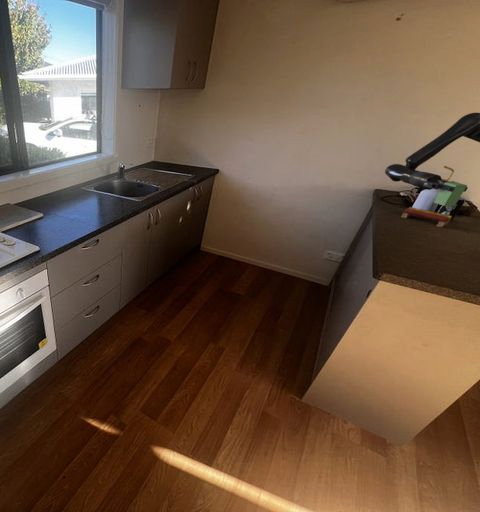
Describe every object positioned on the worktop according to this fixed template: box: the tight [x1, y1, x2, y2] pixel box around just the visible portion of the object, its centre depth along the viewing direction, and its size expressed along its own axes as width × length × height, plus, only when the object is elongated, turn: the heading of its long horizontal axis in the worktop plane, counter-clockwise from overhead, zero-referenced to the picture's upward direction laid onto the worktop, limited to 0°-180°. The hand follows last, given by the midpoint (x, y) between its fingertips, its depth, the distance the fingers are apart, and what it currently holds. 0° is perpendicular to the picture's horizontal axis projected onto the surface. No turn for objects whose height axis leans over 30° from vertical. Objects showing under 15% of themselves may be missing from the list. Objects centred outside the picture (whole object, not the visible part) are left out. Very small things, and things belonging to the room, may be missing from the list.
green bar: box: [434, 181, 468, 206], centre depth 137 cm, size 5×5×10 cm
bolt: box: [458, 204, 476, 216], centre depth 164 cm, size 6×5×15 cm
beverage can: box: [436, 196, 466, 222], centre depth 151 cm, size 7×7×12 cm
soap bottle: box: [411, 165, 455, 212], centre depth 160 cm, size 9×9×25 cm
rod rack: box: [400, 206, 452, 228], centre depth 151 cm, size 16×7×5 cm, turn 28°
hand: (459, 189), depth 133 cm, fingers closed on green bar, 5 cm apart
